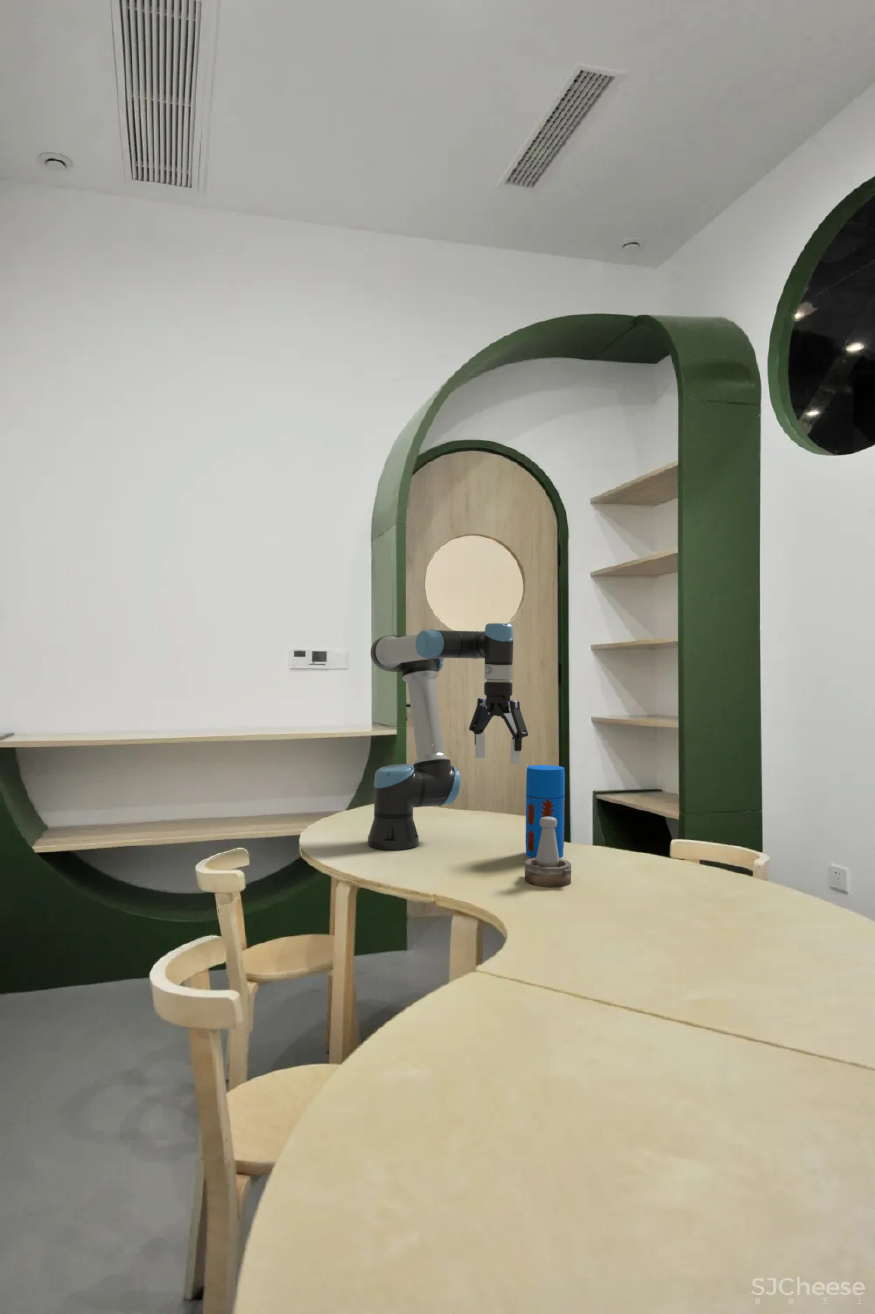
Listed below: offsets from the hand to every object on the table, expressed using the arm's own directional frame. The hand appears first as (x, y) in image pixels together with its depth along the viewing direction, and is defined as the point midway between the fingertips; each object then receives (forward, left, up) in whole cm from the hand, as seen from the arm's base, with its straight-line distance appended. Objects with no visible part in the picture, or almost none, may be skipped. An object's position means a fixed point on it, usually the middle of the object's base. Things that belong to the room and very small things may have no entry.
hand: (497, 760), depth 219 cm
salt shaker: (+17, +2, -26) cm, 31 cm away
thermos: (-2, +21, -29) cm, 36 cm away
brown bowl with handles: (+17, +2, -29) cm, 33 cm away
